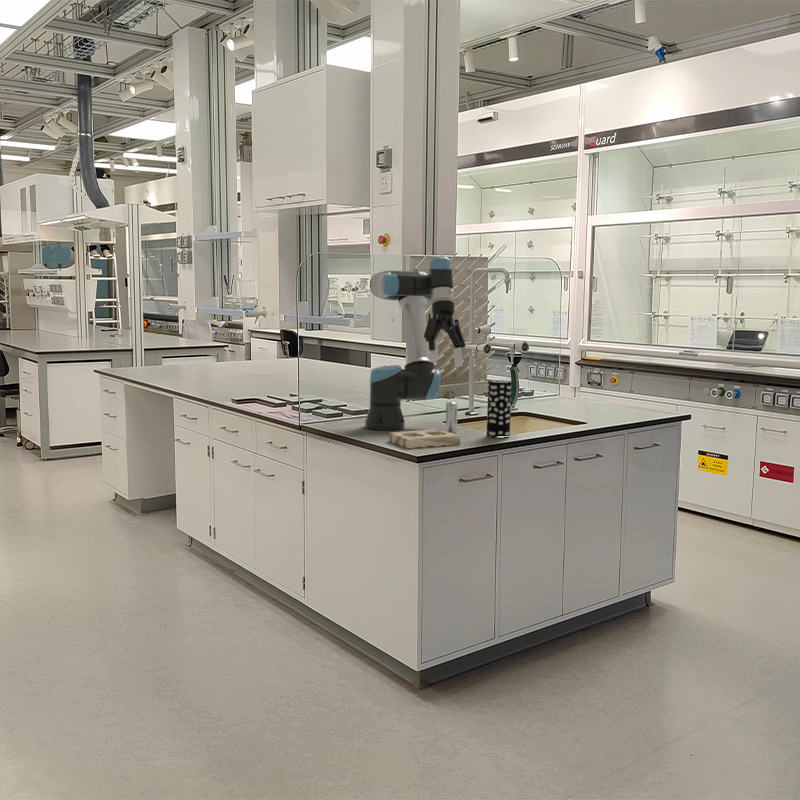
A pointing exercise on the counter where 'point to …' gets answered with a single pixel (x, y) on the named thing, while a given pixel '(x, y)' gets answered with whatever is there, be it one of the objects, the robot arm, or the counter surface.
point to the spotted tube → (499, 408)
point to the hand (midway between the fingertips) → (446, 363)
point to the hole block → (424, 438)
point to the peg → (451, 417)
